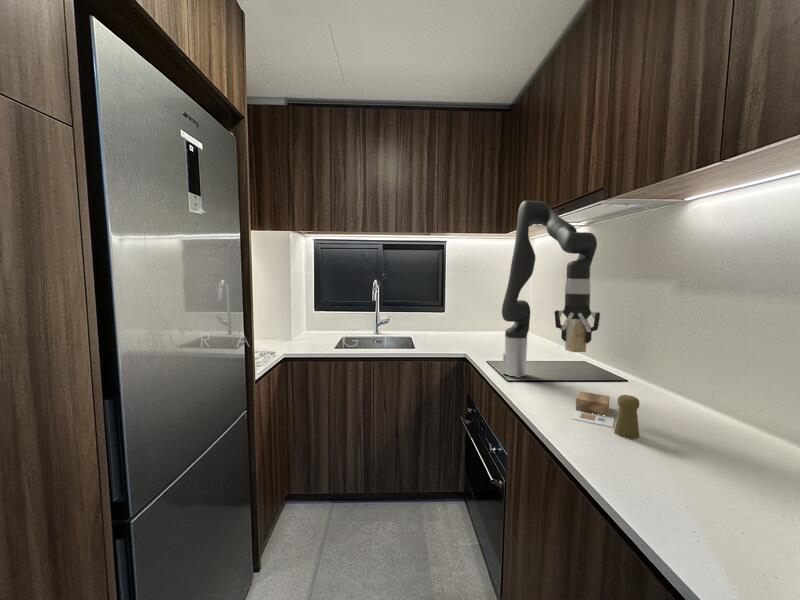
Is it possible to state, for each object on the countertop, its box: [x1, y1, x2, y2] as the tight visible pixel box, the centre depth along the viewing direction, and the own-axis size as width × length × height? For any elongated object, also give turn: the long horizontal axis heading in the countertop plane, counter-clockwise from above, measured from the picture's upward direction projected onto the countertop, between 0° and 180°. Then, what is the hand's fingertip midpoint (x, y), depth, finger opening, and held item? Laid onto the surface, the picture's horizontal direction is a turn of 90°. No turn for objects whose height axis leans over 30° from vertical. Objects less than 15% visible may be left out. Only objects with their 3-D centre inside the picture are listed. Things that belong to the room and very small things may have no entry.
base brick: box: [575, 390, 610, 416], centre depth 120 cm, size 9×9×4 cm
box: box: [564, 318, 588, 353], centre depth 121 cm, size 5×4×11 cm
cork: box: [613, 394, 641, 440], centre depth 101 cm, size 6×6×11 cm
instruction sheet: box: [571, 409, 615, 428], centre depth 112 cm, size 11×8×1 cm
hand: (575, 341), depth 121 cm, fingers closed on box, 6 cm apart
